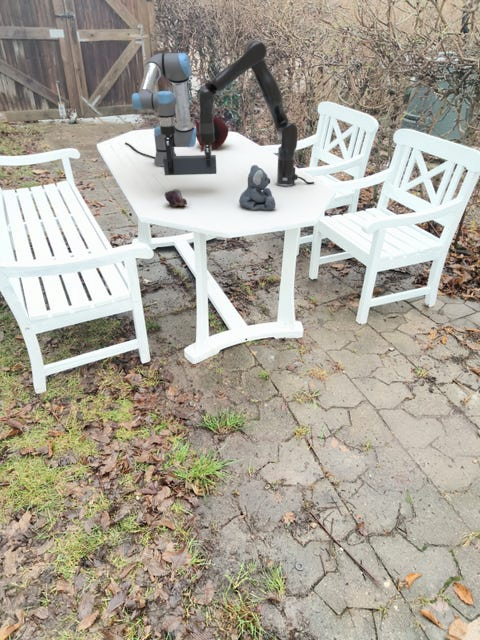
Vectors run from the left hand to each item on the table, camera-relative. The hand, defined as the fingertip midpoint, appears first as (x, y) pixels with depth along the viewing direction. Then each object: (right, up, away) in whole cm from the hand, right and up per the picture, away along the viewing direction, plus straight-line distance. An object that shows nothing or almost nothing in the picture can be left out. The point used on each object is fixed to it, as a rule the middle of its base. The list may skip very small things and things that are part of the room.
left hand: (171, 171), depth 240 cm
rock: (+4, -21, -9) cm, 23 cm away
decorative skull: (+16, +48, +89) cm, 103 cm away
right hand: (+20, +3, -1) cm, 20 cm away
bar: (+10, 0, +1) cm, 10 cm away
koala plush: (+45, -21, -11) cm, 51 cm away
